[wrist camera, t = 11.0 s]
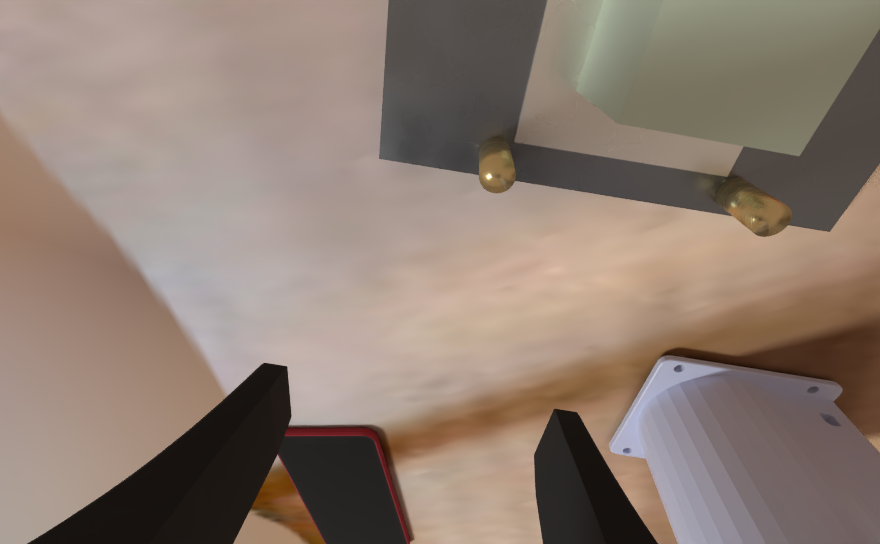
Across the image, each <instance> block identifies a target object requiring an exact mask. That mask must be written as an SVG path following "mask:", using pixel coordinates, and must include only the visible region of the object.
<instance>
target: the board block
mask: <svg viewBox="0 0 880 544" xmlns="http://www.w3.org/2000/svg"><path fill="white" fill-rule="evenodd" d="M879 29H880V0H604V2H603V5H602V8H601V11H600V15H599V18H598V21H597V24H596V28H595V31H594V34H593V37H592V41H591V44H590V47H589V50H588V54H587V57H586V60H585V63H584V67H583V70H582V73H581V76H580V80H579V83H578V86H577V89H576V91H577V92H578V93H580V94H581V95H582V96H583V97H585V98H586V99H587V100H588V101H590V102H591V103H592V104H593V105H595V106H596V107H597V108H599V109H600V110H601V111H602V112H604V113H605V114H606V115H607V116H609V117H610V118H611V119H612V120H614V121H615V122H616V123H617V124H622V125H628V126H633V127H639V128H645V129H650V130H656V131H661V132H667V133H672V134H678V135H684V136H689V137H695V138H700V139H706V140H711V141H717V142H722V143H728V144H734V145H739V146H745V147H750V148H756V149H761V150H767V151H773V152H778V153H784V154H789V155H795V156H800V155H801V153H802V151H803V150H804V148H805V147H806V145H807V143H808V142H809V140H810V139H811V137H812V136H813V134H814V132H815V131H816V129H817V128H818V126H819V124H820V123H821V121H822V120H823V118H824V116H825V115H826V113H827V112H828V110H829V109H830V107H831V105H832V104H833V102H834V101H835V99H836V97H837V96H838V94H839V93H840V91H841V89H842V88H843V86H844V85H845V83H846V82H847V80H848V78H849V77H850V75H851V74H852V72H853V70H854V69H855V67H856V66H857V64H858V63H859V61H860V59H861V58H862V56H863V55H864V53H865V51H866V50H867V48H868V47H869V45H870V43H871V42H872V40H873V39H874V37H875V36H876V34H877V32H878V31H879Z"/></svg>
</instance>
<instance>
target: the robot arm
mask: <svg viewBox="0 0 880 544" xmlns="http://www.w3.org/2000/svg"><path fill="white" fill-rule="evenodd" d="M678 365H680V366H678ZM676 366H677V367H676ZM842 391H843V389H842V388H841V386H840V385H839V384H838V383H837V382H834V381H829V380H822V379H816V378H810V377H804V376H797V375H791V374H785V373H778V372H772V371H766V370H760V369H753V368H747V367H741V366H735V365H728V364H722V363H716V362H710V361H703V360H697V359H691V358H685V357H678V356H672V355H666V356H663V357H661V358H660V359H659V360H658V361H657V363H656V364H655V366H654V368H653V369H652V371H651V373H650V375H649V376H648V378H647V380H646V381H645V383H644V385H643V387H642V388H641V390H640V392H639V393H638V395H637V397H636V399H635V400H634V402H633V404H632V405H631V407H630V409H629V410H628V412H627V414H626V416H625V417H624V419H623V421H622V422H621V424H620V426H619V428H618V429H617V431H616V433H615V434H614V436H613V438H612V440H611V441H610V443H609V447H610V450H611V452H613V453H615V454H620V455H627V456H633V457H639V458H646V460H647V463H648V465H649V468H650V471H651V473H652V476H653V479H654V481H655V484H656V487H657V489H658V492H659V495H660V497H661V500H662V503H663V505H664V508H665V511H666V513H667V516H668V519H669V521H670V524H671V527H672V529H673V532H674V535H675V537H676V540H677V543H678V544H880V453H879V451H878V450H877V449H876V448H875V447H874V446H873V445H872V444H871V443H870V442H869V441H868V439H867V438H866V437H865V436H864V435H863V434H862V433H861V432H860V431H859V430H858V428H857V427H856V426H855V425H854V424H853V423H852V422H851V421H850V420H849V419H848V418H847V416H846V415H845V414H844V413H843V412H842V411H841V410H840V409H839V408H838V407H837V405H836V404H835V403H834V401H835V400H836V399H837V398H838V397H839V396H840V395H841V393H842ZM290 419H291V406H290V394H289V382H288V371H287V366H281V365H275V364H268V363H264V364H262V365H261V366H259V367H258V368H257V369H256V370H255V371H254V372H253V373H252V374H251V375H250V376H249V377H248V378H247V379H246V380H245V381H244V382H242V383H241V384H240V385H239V386H238V387H237V388H236V389H235V390H234V391H233V392H232V393H231V394H229V395H228V396H227V397H226V398H225V399H224V400H223V401H222V402H221V403H220V404H218V405H217V406H216V407H215V408H214V409H213V410H211V411H210V412H209V413H208V414H207V415H206V416H205V417H203V418H202V419H201V420H200V421H199V422H198V423H196V424H195V425H194V426H193V427H192V428H191V429H189V430H188V431H187V432H186V433H185V434H183V435H182V436H181V437H180V438H178V439H177V440H176V441H175V442H173V443H172V444H171V445H170V446H168V447H167V448H166V449H165V450H163V451H162V452H161V453H160V454H158V455H157V456H156V457H155V458H153V459H152V460H151V461H149V462H148V463H147V464H145V465H144V466H143V467H141V468H140V469H139V470H137V471H136V472H135V473H133V474H132V475H131V476H129V477H128V478H126V479H125V480H124V481H122V482H121V483H119V484H118V485H117V486H115V487H114V488H112V489H111V490H110V491H108V492H107V493H105V494H104V495H102V496H101V497H99V498H98V499H96V500H95V501H93V502H92V503H90V504H89V505H87V506H86V507H84V508H83V509H81V510H80V511H78V512H77V513H75V514H74V515H72V516H71V517H69V518H68V519H66V520H65V521H63V522H62V523H60V524H58V525H57V526H55V527H54V528H52V529H51V530H49V531H47V532H46V533H44V534H43V535H41V536H39V537H38V538H36V539H34V540H33V541H31V542H29V543H28V544H233V543H234V540H235V539H236V537H237V535H238V533H239V531H240V529H241V527H242V525H243V523H244V520H245V519H246V517H247V515H248V513H249V511H250V509H251V507H252V505H253V503H254V501H255V499H256V497H257V495H258V493H259V491H260V489H261V487H262V485H263V483H264V481H265V479H266V477H267V475H268V473H269V471H270V469H271V467H272V465H273V463H274V460H275V458H276V456H277V454H278V452H279V449H280V446H281V444H282V441H283V439H284V436H285V433H286V430H287V427H288V425H289V422H290ZM534 463H535V488H536V499H537V506H538V513H539V519H540V526H541V533H542V539H543V544H658V543H657V542H656V540H655V539H654V537H653V536H652V534H651V533H650V531H649V530H648V528H647V527H646V525H645V524H644V523H643V521H642V520H641V518H640V517H639V515H638V514H637V512H636V510H635V509H634V507H633V506H632V504H631V503H630V501H629V500H628V498H627V496H626V495H625V493H624V492H623V490H622V488H621V487H620V485H619V483H618V482H617V480H616V479H615V477H614V475H613V474H612V472H611V470H610V469H609V467H608V465H607V464H606V462H605V460H604V458H603V457H602V455H601V453H600V452H599V450H598V448H597V446H596V445H595V443H594V441H593V439H592V438H591V436H590V434H589V432H588V430H587V429H586V427H585V425H584V423H583V421H582V420H581V418H580V416H579V415H578V413H577V412H572V411H565V410H559V409H554V411H553V413H552V415H551V417H550V420H549V422H548V424H547V427H546V429H545V431H544V433H543V436H542V438H541V440H540V443H539V445H538V447H537V449H536V452H535V454H534Z"/></svg>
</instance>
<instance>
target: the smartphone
mask: <svg viewBox="0 0 880 544" xmlns="http://www.w3.org/2000/svg"><path fill="white" fill-rule="evenodd" d="M278 456H279V458H280V460H281V462H282V464H283V466H284V467H285V469H286V471H287V473H288V475H289V477H290V479H291V481H292V482H293V484H294V486H295V488H296V490H297V492H298V494H299V496H300V497H301V499H302V501H303V503H304V505H305V507H306V509H307V511H308V513H309V514H310V516H311V518H312V520H313V522H314V524H315V526H316V528H317V529H318V531H319V533H320V535H321V537H322V539H323V541H324V542H325V543H326V544H410V538H409V535H408V532H407V528H406V525H405V522H404V519H403V515H402V512H401V509H400V506H399V503H398V499H397V496H396V493H395V490H394V486H393V483H392V480H391V477H390V473H389V470H388V467H387V464H386V461H385V457H384V454H383V451H382V448H381V444H380V441H379V438H378V435H377V433H376V432H375V431H373V430H372V429H369V428H287V430H286V433H285V436H284V439H283V441H282V444H281V446H280V449H279V452H278Z"/></svg>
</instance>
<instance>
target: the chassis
mask: <svg viewBox="0 0 880 544" xmlns="http://www.w3.org/2000/svg"><path fill="white" fill-rule="evenodd" d="M603 2H604V0H389V5H388V22H387V38H386V55H385V71H384V88H383V105H382V121H381V138H380V155H379V159H384V160H391V161H397V162H403V163H409V164H415V165H421V166H428V167H434V168H440V169H446V170H452V171H458V172H464V173H471V174H477V175H479V180H480V183H481V185H482V186H483V188H484V189H486V190H487V191H489V192H492V193H502V192H504V191H506V190H508V189H509V188H510V187H511V186H512V185H513V183H514V181H520V182H526V183H532V184H538V185H545V186H551V187H557V188H563V189H569V190H575V191H581V192H588V193H594V194H600V195H606V196H612V197H618V198H625V199H631V200H637V201H643V202H649V203H655V204H662V205H668V206H674V207H680V208H686V209H692V210H698V211H705V212H711V213H717V214H723V215H729V216H733V217H735V218H736V219H737V220H738V221H740V222H741V223H742V224H743V225H745V226H746V227H747V228H748V229H750V230H751V231H752V232H753V233H755V234H756V235H758V236H763V237H766V236H772V235H775V234H777V233H779V232H780V231H782V230H783V229H784V228H785V227H786V226H787V225H791V226H797V227H803V228H809V229H815V230H822V231H828V232H830V231H831V229H832V228H833V227H834V225H835V224H836V222H837V221H838V220H839V218H840V217H841V216H842V214H843V213H844V211H845V210H846V209H847V207H848V206H849V205H850V203H851V202H852V200H853V199H854V198H855V196H856V195H857V194H858V192H859V191H860V189H861V188H862V187H863V185H864V184H865V183H866V181H867V180H868V178H869V177H870V176H871V174H872V173H873V172H874V170H875V169H876V167H877V166H878V165H879V163H880V29H879V31H878V32H877V34H876V36H875V37H874V39H873V40H872V42H871V43H870V45H869V47H868V48H867V50H866V51H865V53H864V55H863V56H862V58H861V59H860V61H859V63H858V64H857V66H856V67H855V69H854V70H853V72H852V74H851V75H850V77H849V78H848V80H847V82H846V83H845V85H844V86H843V88H842V89H841V91H840V93H839V94H838V96H837V97H836V99H835V101H834V102H833V104H832V105H831V107H830V109H829V110H828V112H827V113H826V115H825V116H824V118H823V120H822V121H821V123H820V124H819V126H818V128H817V129H816V131H815V132H814V134H813V136H812V137H811V139H810V140H809V142H808V143H807V145H806V147H805V148H804V150H803V151H802V153H801V155H800V156H795V155H789V154H784V153H778V152H773V151H767V150H761V149H756V148H750V147H745V146H739V145H734V144H728V143H722V142H717V141H711V140H706V139H700V138H695V137H689V136H684V135H678V134H672V133H667V132H661V131H656V130H650V129H645V128H639V127H633V126H628V125H622V124H617V123H616V122H615V121H614V120H612V119H611V118H610V117H609V116H607V115H606V114H605V113H604V112H602V111H601V110H600V109H599V108H597V107H596V106H595V105H593V104H592V103H591V102H590V101H588V100H587V99H586V98H585V97H583V96H582V95H581V94H580V93H578V92H577V91H576V89H577V86H578V83H579V80H580V76H581V73H582V70H583V67H584V63H585V60H586V57H587V54H588V50H589V47H590V44H591V41H592V37H593V34H594V31H595V28H596V24H597V21H598V18H599V15H600V11H601V8H602V5H603Z"/></svg>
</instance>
